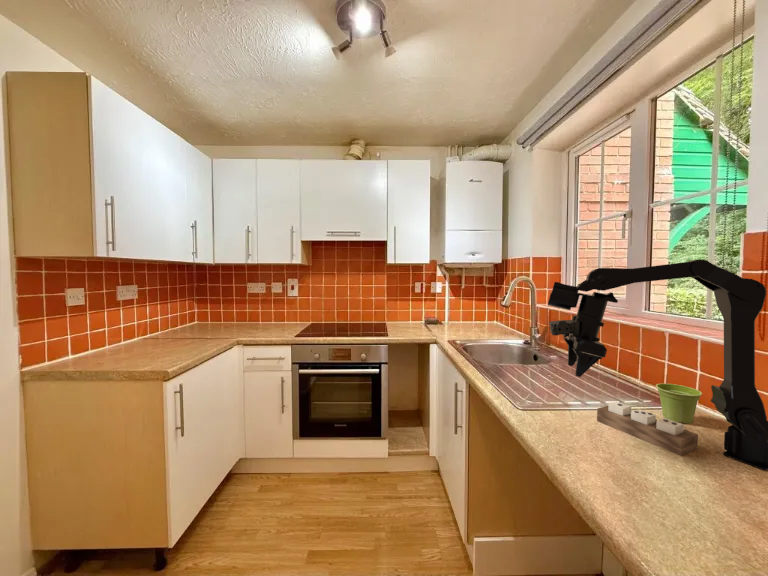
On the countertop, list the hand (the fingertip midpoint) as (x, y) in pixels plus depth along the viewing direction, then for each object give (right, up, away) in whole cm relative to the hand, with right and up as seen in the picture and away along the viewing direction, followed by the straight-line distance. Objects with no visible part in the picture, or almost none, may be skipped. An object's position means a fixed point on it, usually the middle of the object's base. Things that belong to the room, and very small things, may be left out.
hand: (573, 370), depth 83 cm
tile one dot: (+13, -12, +1) cm, 18 cm away
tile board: (+15, -15, -4) cm, 22 cm away
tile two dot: (+17, -12, -9) cm, 23 cm away
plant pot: (+32, -15, +4) cm, 35 cm away
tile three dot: (+15, -12, -4) cm, 20 cm away
